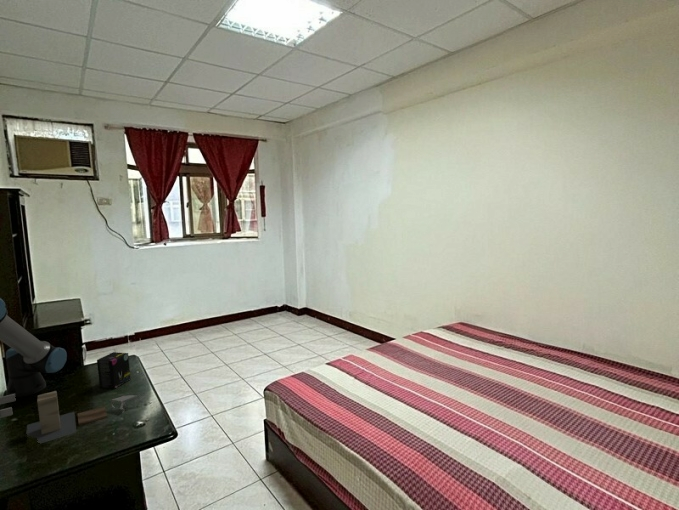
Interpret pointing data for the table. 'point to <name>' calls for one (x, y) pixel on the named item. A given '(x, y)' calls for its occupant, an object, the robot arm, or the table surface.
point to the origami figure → (123, 399)
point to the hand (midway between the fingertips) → (13, 403)
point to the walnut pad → (92, 415)
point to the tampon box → (113, 370)
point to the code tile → (66, 429)
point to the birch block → (48, 412)
